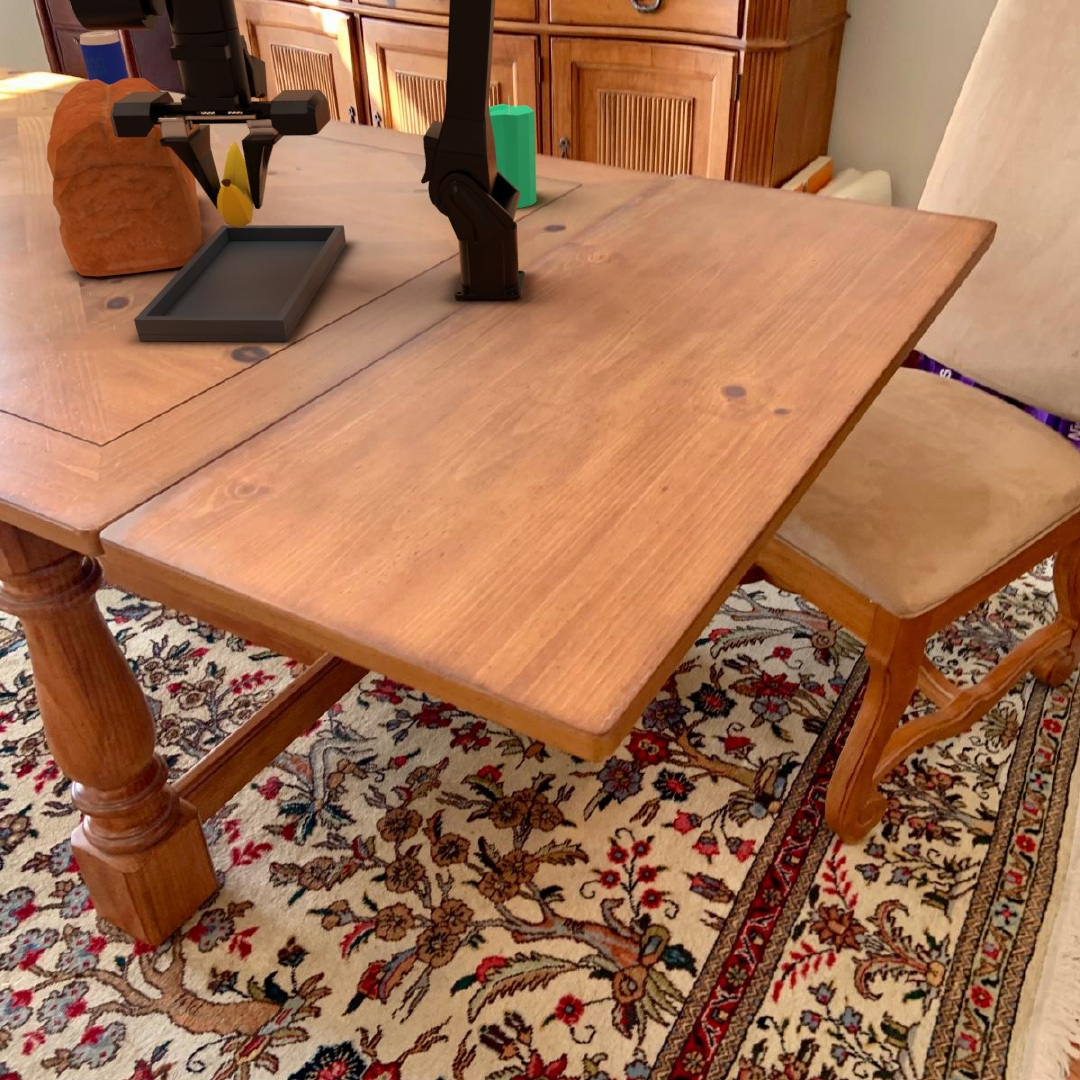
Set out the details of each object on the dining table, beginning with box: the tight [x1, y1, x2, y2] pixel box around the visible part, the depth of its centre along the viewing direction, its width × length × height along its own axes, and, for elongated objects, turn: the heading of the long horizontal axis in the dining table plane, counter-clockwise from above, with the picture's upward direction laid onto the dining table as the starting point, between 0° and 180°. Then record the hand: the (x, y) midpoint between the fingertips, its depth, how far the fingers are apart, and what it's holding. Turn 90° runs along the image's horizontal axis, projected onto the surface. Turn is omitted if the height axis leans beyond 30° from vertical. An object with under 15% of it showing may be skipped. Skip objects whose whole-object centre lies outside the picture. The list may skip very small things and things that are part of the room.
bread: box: [46, 77, 204, 277], centre depth 112 cm, size 14×27×15 cm, turn 18°
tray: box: [133, 224, 347, 343], centre depth 102 cm, size 26×14×2 cm, turn 177°
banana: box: [217, 141, 255, 228], centre depth 97 cm, size 3×19×6 cm, turn 12°
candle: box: [489, 94, 537, 209], centre depth 121 cm, size 6×6×12 cm
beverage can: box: [79, 30, 129, 85], centre depth 143 cm, size 5×5×15 cm
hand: (239, 207), depth 98 cm, fingers closed on banana, 3 cm apart
